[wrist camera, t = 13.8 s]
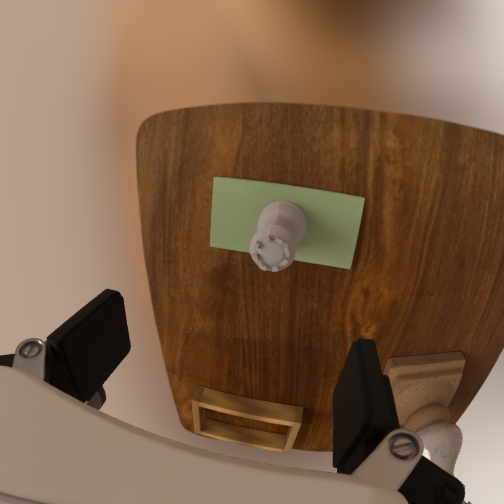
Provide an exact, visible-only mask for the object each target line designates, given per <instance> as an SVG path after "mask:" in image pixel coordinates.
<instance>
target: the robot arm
mask: <svg viewBox="0 0 504 504" xmlns="http://www.w3.org/2000/svg"><path fill="white" fill-rule="evenodd" d="M47 341H48V343H47V344H46V345H45V343H44V341H42V340H41V339H38V338H30V339H26V340H24V341H22V342H21V343H20V344H19V345H18V346H17V348H16V351H15V354H9V355H1V356H0V504H471V503H470V502H468V503H466V502H465V501H464V497H465V489H464V486H463V484H462V483H461V482H460V481H459V480H458V479H457V478H455V477H454V476H452V475H451V474H449V473H448V472H446V471H445V470H443V469H442V468H441V467H439V466H438V465H436V464H435V463H433V462H432V461H430V460H429V459H428V458H426V457H425V456H423V455H422V454H423V452H424V444H423V441H422V439H421V438H420V436H419V435H418V434H416V433H415V432H413V431H411V430H409V429H400V424H399V419H398V415H397V410H396V405H395V400H394V396H393V392H392V387H391V383H390V379H389V377H388V375H383V374H382V370H381V366H380V362H379V358H378V354H377V350H376V346H375V342H374V340H370V339H361V338H360V339H358V341H357V342H353V343H352V345H351V348H350V351H349V354H348V356H347V359H346V362H345V364H344V367H343V370H342V372H341V375H340V377H339V380H338V382H337V385H336V387H335V390H334V394H333V467H334V468H337V473H332V472H323V471H316V470H315V471H314V470H305V469H298V468H290V467H283V466H277V465H271V464H265V463H259V462H254V461H249V460H244V459H239V458H235V457H229V456H225V455H222V454H217V453H214V452H210V451H206V450H202V449H199V448H195V447H192V446H188V445H185V444H182V443H179V442H176V441H173V440H170V439H167V438H164V437H161V436H159V435H156V434H153V433H150V432H148V431H145V430H143V429H140V428H137V427H134V426H133V425H130V424H128V423H125V422H123V421H120V420H118V419H116V418H114V417H111V416H109V415H107V414H105V413H103V412H101V411H99V410H97V409H95V408H93V407H91V406H89V405H87V404H86V403H87V402H88V401H90V400H91V398H92V397H93V396H94V395H95V394H96V392H97V391H98V390H99V389H100V387H101V386H102V385H103V384H104V382H105V381H106V380H107V379H108V377H109V376H110V375H111V374H112V373H113V371H114V370H115V369H116V367H117V366H118V365H119V364H120V363H121V362H122V360H123V359H124V358H125V357H126V355H127V354H128V353H129V351H130V348H131V344H130V339H129V332H128V326H127V320H126V313H125V306H124V299H123V297H122V296H121V294H120V292H118V291H115V290H111V289H106V290H104V291H103V292H102V293H100V294H99V295H98V296H97V297H95V298H94V299H93V300H92V301H90V302H89V303H88V304H86V305H85V306H84V307H83V308H81V309H80V310H79V311H78V312H77V313H75V314H74V315H73V316H72V317H71V318H69V319H68V320H67V321H66V322H64V323H63V324H62V325H61V326H60V327H58V328H57V329H56V330H55V331H54V332H52V333H51V334H50V335H49V336H48V337H47Z"/></svg>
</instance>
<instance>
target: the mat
mask: <svg viewBox="0 0 504 504" xmlns="http://www.w3.org/2000/svg"><path fill="white" fill-rule="evenodd" d="M278 201H285V202H291V203H292V204H294V205H296V206H298V207H299V208H300V209H301V211H302V212H303V213H304V215H305V218H306V222H307V229H306V234H305V236H304V238H303V240H302V241H301V243H300V244H299V245H297V246H296V254H295V258H294V260H297V261H303V262H309V263H315V264H321V265H327V266H334V267H340V268H346V269H351V265H352V260H353V256H354V252H355V247H356V242H357V238H358V233H359V228H360V223H361V218H362V213H363V207H364V202H365V198H364V197H360V196H355V195H349V194H343V193H338V192H332V191H326V190H320V189H313V188H307V187H300V186H294V185H286V184H279V183H272V182H264V181H256V180H247V179H238V178H229V177H219V176H215V177H214V182H213V198H212V216H211V236H210V246H211V247H217V248H223V249H229V250H235V251H241V252H248V253H250V242H251V240H252V238H253V236H254V234H256V233H257V232H258V230H257V226H258V219H259V217H260V215H261V213H262V211H263V209H264V208H266V207H267V206H268V205H269V204H271V203H274V202H278Z"/></svg>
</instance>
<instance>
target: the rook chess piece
mask: <svg viewBox="0 0 504 504" xmlns="http://www.w3.org/2000/svg"><path fill="white" fill-rule="evenodd" d="M306 229H307V222H306V218H305V215H304V213H303V212H302V211H301V209H300V208H299V207H298V206H296V205H294V204H292V203H291V202H285V201H278V202H274V203H271V204H269V205H268V206H267V207H266V208H264V209H263V211H262V213H261V215H260V217H259V219H258V226H257V230H258V232H257V233H256V234H254V236H253V238H252V240H251V242H250V253H251V256H252V259H253V260H254V262H255V263H256V264H257V265H258V266H259V268H261V269H262V270H264V271H265V270H269V271H272V272H275V271H279V270H283V269H285V268H286V267H288V266H289V265H291V263H292V261H293V260H294V258H295V254H296V246H297V245H299V244H300V243H301V241H302V240H303V238H304V236H305V234H306Z"/></svg>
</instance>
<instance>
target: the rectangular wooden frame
mask: <svg viewBox="0 0 504 504" xmlns="http://www.w3.org/2000/svg"><path fill="white" fill-rule="evenodd" d="M206 408H208V409H211V410H215V411H219V412H223V413H227V414H231V415H236V416H240V417H245V418H249V419H254V420H259V421H265V422H270V423H276V424H282V425H288V426H290V427H289V429H288V432H287V435H283V434H277V433H271V432H266V431H260V430H255V429H250V428H245V427H241V426H236V425H232V424H228V423H224V422H220V421H216V420H212V419H208V418H206ZM192 409H193V420H194V430H195V433H197V434H201V435H205V436H208V437H212V438H216V439H219V440H224V441H227V442H232V443H236V444H241V445H245V446H250V447H256V448H260V449H266V450H272V451H278V452H284V453H289V452H290V450H291V448H292V446H293V443H294V441H295V439H296V436H297V434H298V431H299V429H300V426H301V424H302V417H303V407H298V406H297V407H296V406H291V405H285V404H279V403H273V402H268V401H262V400H257V399H252V398H248V397H243V396H238V395H234V394H230V393H225V392H221V391H217V390H213V389H209V388H205V387H202V386H198V388H197V390H196V392H195V394H194V396H193V398H192Z"/></svg>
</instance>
